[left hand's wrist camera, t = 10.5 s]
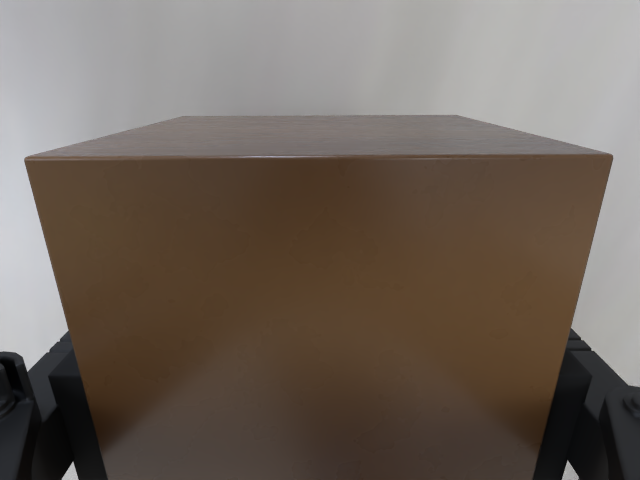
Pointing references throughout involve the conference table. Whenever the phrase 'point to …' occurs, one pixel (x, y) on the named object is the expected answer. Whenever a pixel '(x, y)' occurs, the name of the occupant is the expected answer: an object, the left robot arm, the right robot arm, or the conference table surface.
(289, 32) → the conference table surface
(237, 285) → the beam
